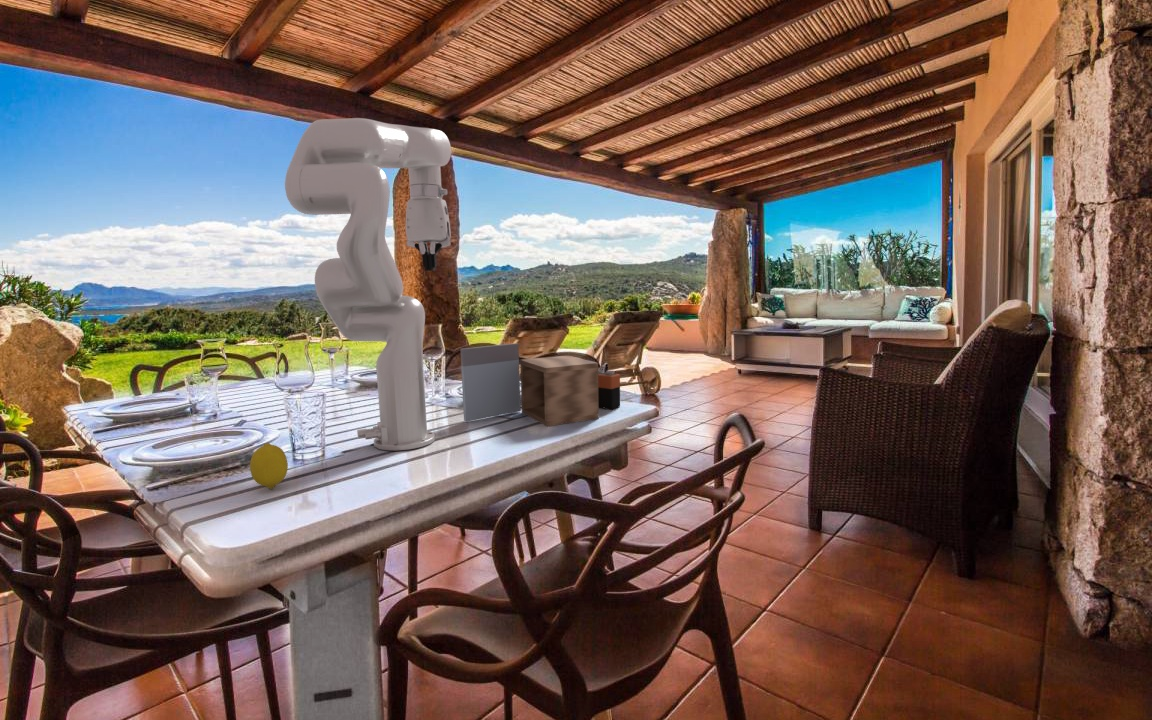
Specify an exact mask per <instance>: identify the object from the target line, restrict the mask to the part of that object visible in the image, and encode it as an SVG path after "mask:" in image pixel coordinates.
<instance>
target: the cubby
mask: <svg viewBox="0 0 1152 720" xmlns="http://www.w3.org/2000/svg"><path fill="white" fill-rule="evenodd" d="M519 369H520V399H521V413H522V414H523V415H526V416H528V417H530V418H531V419H533V420H535V421H536V422H538V423H540V424H542V425H544V426H546V427H552V426H553V427H554V426H559V425H565V424H572V423H579V422H578V421H580V422H586V421H585V420H587V421H592V419H593V420H598V419H599V411H600V410H599V409H600V408H599V407H598V370H599V363H598V362H596V361H591V360H587V359H584V358H580V357H575V356H572V355H561V356H560V355H558V356H548V357H547V356H546V357H537V358H525V359H519Z"/></svg>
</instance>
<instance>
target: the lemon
mask: <svg viewBox="0 0 1152 720" xmlns="http://www.w3.org/2000/svg"><path fill="white" fill-rule="evenodd" d="M249 464H250V466H249V468H250V469H249V472H250V474H251V477H252V478H253V480H254V481H255V483H256V484H258V485H260V486H263V487H266V488H268V489H270V490H271V489H274V488H275V487H276V486H277V485H278V484H279V483H281V482H282V481H283V480H284V479H285V477H286V476H287V473H288V467H289V465H288V459H287V455H286V453H285V452H284V450H283V449H282V448H281V447H279V446H277V445H275V444H270V442H266V443H264V444H263V445H261V446H260V447H258V448H257V449H256V450H255V451H254V452H253V453H252V456H251V458H250V462H249Z"/></svg>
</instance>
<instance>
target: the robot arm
mask: <svg viewBox="0 0 1152 720" xmlns="http://www.w3.org/2000/svg"><path fill="white" fill-rule="evenodd" d="M451 155H452V147H451V143H450V140H449V138H448V136H447V135H446V134H445V132H443V131H442V130H439V129H436V128H429V127H421V126H420V127H419V126H409V125H403V124H396V123H395V124H394V123H393V124H392V123H387V122H382V121H378V120H374V119H369V118H362V117H352V118H349V117H348V118H328V119H326V118H325V119H317V120H314V121H313V122H312V123H310V124H309V125H308V126H307V128H306V129H305V131H304V132H303V133H302V135H301V137H300V139H299V142H298V143H297V146H296V148H295V151H294V154H293V155H292V158H291V161H290V163H289V165H288V168H287V170H286V174H285V179H284V190H285V191H284V192H285V196H286V198H287V200H288V202H289V204H290V205H291V206H292V208H293V209H295V210H297V212H299V213H301V214H304V215H311V216H314V215H315V216H319V215H320V216H321V215H325V216H326V215H350V217H349V218H348V221H347V223H346V225H345V226H344V227H343V229H342V230H341V232H340V234H339V236H338V239H337V241H336V251H337V254H338V256H339V257H333V258H328V259H325V260H324V261H322V262H321V263H320V264H319V265H318V266H317V268H316V270H315V272H314V273H315V274H314V285H315V287H314V288H315V291H316V294H317V297H318V299H319V302H320V304H321V305H322V307H323V309H324V310H325V311H326V313H327V314H328V316H329V317H330V319H331V321H332V322H333V323H334V326H335V327H336V328H337V330H338V331H339V333H341V335H342V336H343V337H344V338H345V339H347V340H350V341H353V342H385V343H386V344H385V346H384V347H383V349H382V351H381V352H380V354H379V356H378V357H377V359H376V365H375V366H376V367H375V369H376V381H377V395H378V407H379V409H378V410H379V421H377V425H374V426H372V428H371V427H370V428H360V429H357V430H356V431H357V439H358V440H359V439H365V440H366V441H367V440H372V439H373V446H374V447H375V448H377V449H378V450H381V451H384V450H385V451H392V452H393V451H396V452H397V451H406V450H413V449H414V450H415V449H419V448H423V447H426V446H428V445H431V444H432V443H434V442H435V440H436V435H435V433H434V432H432V431H431V430H428V423H427V408H426V406H427V405H426V390H425V389H426V387H425V373H424V372H425V371H424V354H423V353H424V351H423V344H424V334H425V325H426V323H425V322H426V312H425V308H424V305H423V304H422V303H421V301H419V300H418V299H417V298H415V297H413V296H408V295H403V294H404V284H403V279H402V277H401V274H400V271H399V269H398V267H397V264H396V263H395V259H394V258H393V256H392V253H391V251H390V249H389V246H388V244H387V241H386V228H387V221H388V213H389V205H390V192H391V191H390V183H389V180H388V177H387V175H386V172H384V170H383V169H407V170H408V179H409V182H408V184H409V199H407V203H406V209H405V210H406V211H405V236H406V246H407V247H410V248H415V249H416V250H417V251H418V252H419V253H420V255H421V256H422V266H423V268H424V270H425V272H430V271H431V272H432V271H433V272H435V271H436V268H438V267H437V265H438V264H437V262H438V261H437V255H438V253H439V252H440V251H441V250H442V249H443V248H446V247H447V248H448V247H450V246H451V244H452V243H451V238H452V237H451V236H452V235H451V234H452V233H451V225H450V218H449V217H450V216H449V209H448V205H447V202H446V200H445V199H443V198H444V196H447V195H448V189H447V188H443V187H442V173H441V170H442V169H441V167H445V166H446V165H448V163H449V162H450V159H451ZM428 243H429V244H430V246H429V247H428ZM428 248H429V249H428Z"/></svg>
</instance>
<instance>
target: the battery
mask: <svg viewBox="0 0 1152 720" xmlns="http://www.w3.org/2000/svg"><path fill="white" fill-rule="evenodd" d="M620 406H621V374H620V373H615V370H606V371H604V370H603V369H598V407H599V409H605V410H614V409H618V408H620Z"/></svg>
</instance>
